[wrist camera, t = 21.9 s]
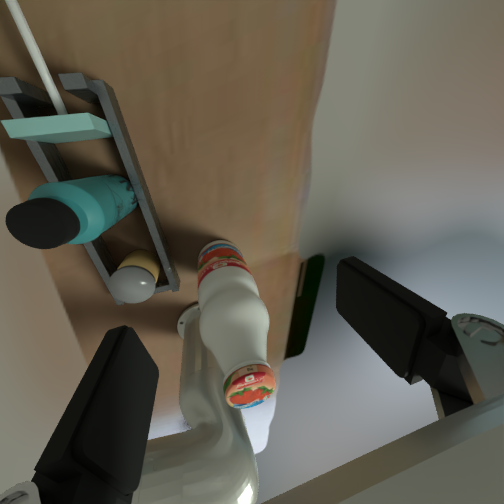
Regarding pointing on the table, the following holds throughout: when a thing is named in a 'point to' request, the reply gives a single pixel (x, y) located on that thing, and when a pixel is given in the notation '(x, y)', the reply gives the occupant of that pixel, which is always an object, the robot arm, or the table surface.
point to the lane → (46, 154)
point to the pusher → (62, 124)
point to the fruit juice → (234, 324)
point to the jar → (135, 277)
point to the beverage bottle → (71, 211)
